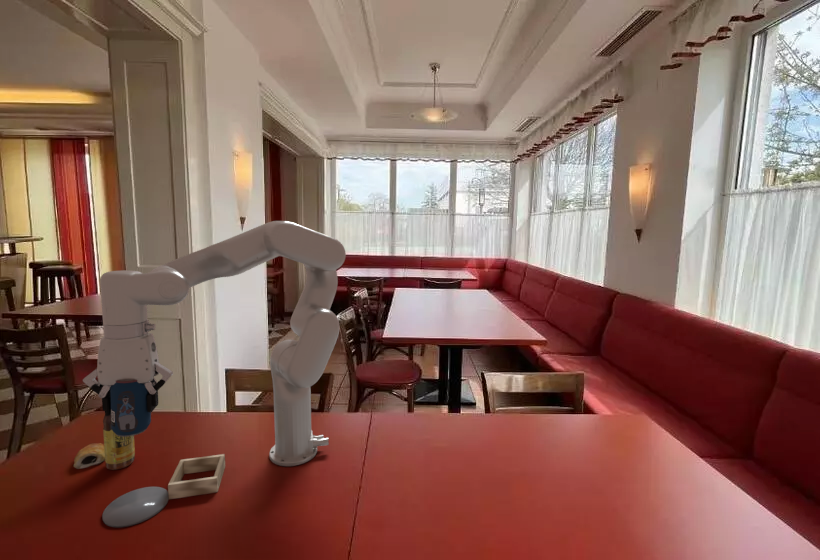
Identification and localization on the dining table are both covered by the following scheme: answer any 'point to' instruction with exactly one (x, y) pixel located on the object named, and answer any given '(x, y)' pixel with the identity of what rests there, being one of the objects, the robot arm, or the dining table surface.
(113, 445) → the sauce bottle
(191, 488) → the cup holder
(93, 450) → the pastry
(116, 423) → the soda can
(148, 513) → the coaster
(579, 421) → the dining table surface
